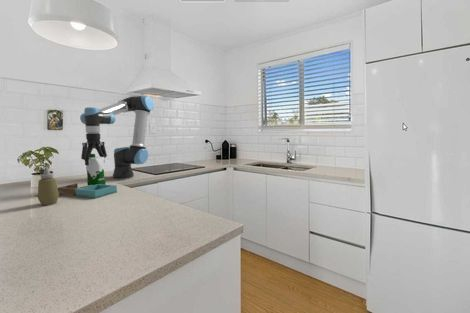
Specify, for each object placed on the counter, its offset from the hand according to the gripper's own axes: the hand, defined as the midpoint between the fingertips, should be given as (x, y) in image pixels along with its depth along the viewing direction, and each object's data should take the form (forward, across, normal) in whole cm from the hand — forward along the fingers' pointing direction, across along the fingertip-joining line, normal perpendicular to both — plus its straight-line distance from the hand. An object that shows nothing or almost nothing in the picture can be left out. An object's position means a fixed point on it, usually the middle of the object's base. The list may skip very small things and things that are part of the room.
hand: (95, 169), depth 148 cm
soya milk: (+11, 0, 0) cm, 11 cm away
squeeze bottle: (+12, +34, +8) cm, 36 cm away
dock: (+12, +14, 0) cm, 18 cm away
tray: (+12, +12, +14) cm, 22 cm away
